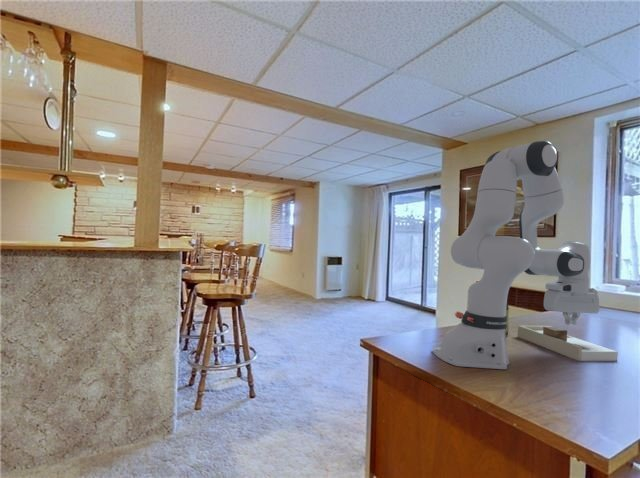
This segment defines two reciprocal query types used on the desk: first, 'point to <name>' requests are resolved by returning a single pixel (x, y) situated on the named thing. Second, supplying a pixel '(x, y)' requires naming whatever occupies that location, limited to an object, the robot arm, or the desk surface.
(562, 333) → the walnut block
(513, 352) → the desk surface
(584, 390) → the desk surface
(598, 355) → the board
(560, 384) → the desk surface
